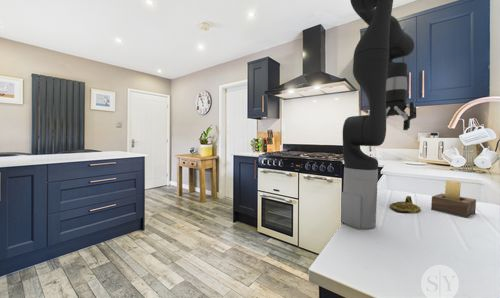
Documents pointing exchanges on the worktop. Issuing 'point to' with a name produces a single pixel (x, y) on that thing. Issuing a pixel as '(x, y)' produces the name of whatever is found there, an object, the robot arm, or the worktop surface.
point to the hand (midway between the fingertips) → (393, 130)
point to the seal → (405, 206)
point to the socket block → (454, 205)
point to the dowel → (452, 190)
